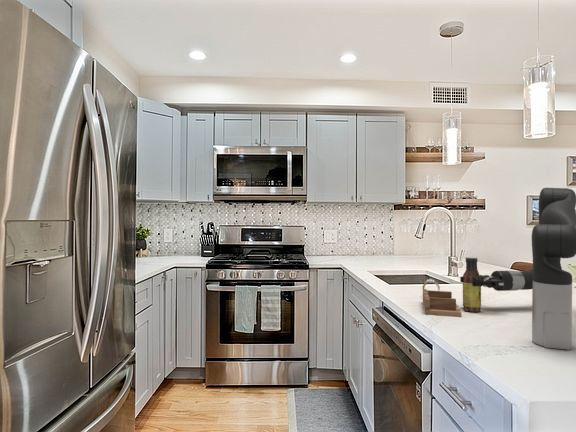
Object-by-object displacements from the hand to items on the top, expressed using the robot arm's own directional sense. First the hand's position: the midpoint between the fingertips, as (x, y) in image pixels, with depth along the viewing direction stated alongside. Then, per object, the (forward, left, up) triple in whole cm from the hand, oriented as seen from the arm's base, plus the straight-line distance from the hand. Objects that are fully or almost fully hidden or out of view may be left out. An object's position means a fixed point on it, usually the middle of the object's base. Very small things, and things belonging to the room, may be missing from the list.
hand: (466, 281), depth 147 cm
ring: (+22, +11, -11) cm, 27 cm away
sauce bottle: (+1, -2, -11) cm, 11 cm away
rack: (0, +9, -11) cm, 14 cm away
